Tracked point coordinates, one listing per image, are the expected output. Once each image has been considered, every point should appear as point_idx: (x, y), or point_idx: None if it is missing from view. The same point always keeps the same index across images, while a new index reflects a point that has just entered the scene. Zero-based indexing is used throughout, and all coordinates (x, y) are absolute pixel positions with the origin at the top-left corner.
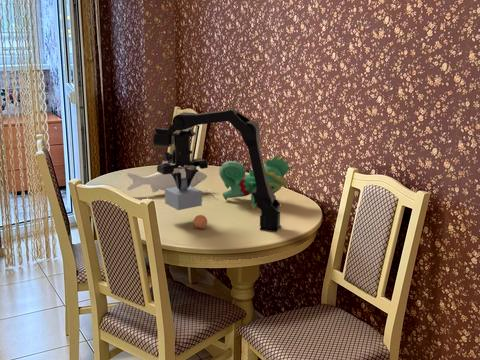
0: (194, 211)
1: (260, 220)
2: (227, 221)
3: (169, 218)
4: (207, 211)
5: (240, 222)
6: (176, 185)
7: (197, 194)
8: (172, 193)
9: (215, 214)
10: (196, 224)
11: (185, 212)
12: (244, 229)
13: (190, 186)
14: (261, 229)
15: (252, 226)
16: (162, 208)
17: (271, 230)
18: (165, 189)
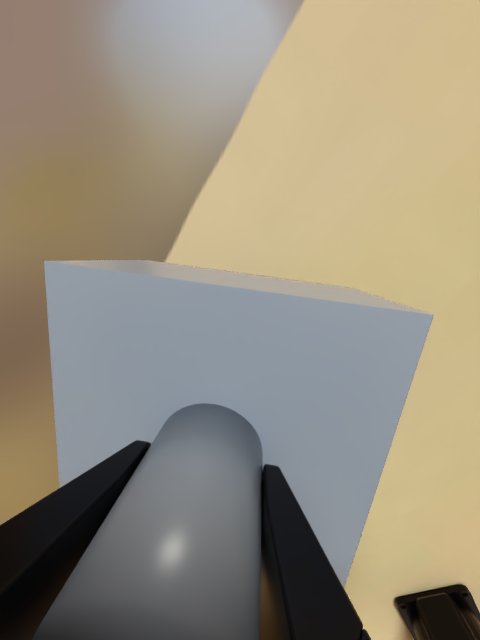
0: (398, 244)
1: (432, 637)
2: (389, 465)
3: (216, 251)
4: (449, 295)
5: (418, 508)
6: (92, 468)
7: None
8: (65, 437)
9: (435, 362)
10: None
11: (347, 224)
12: (359, 559)
13: (392, 403)
14: (397, 606)
15: (410, 561)
16: (298, 43)
17: (412, 634)
18: (48, 281)
